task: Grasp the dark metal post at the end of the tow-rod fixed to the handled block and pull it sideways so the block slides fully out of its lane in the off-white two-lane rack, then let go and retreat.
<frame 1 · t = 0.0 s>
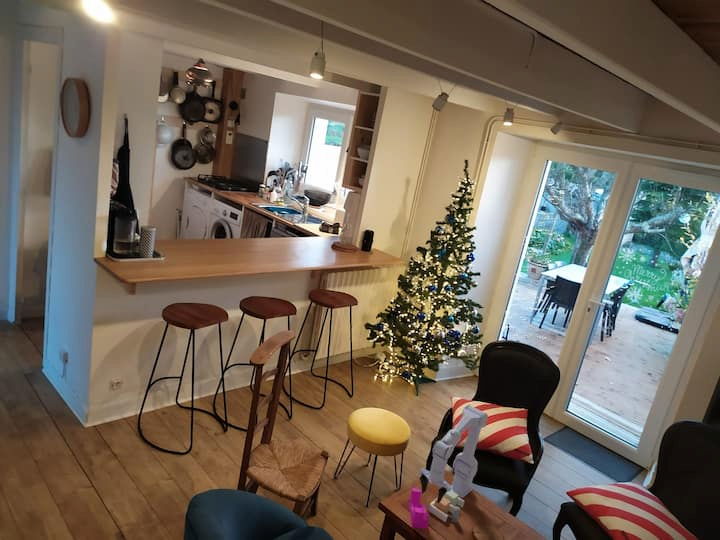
hand: (431, 496, 222), 10 cm above the table, fingers open, 7 cm apart
handled block: (440, 511, 229), on the table
green block: (448, 504, 235), resting in rack
rack: (445, 508, 232), on the table
toy block: (417, 515, 225), on the table
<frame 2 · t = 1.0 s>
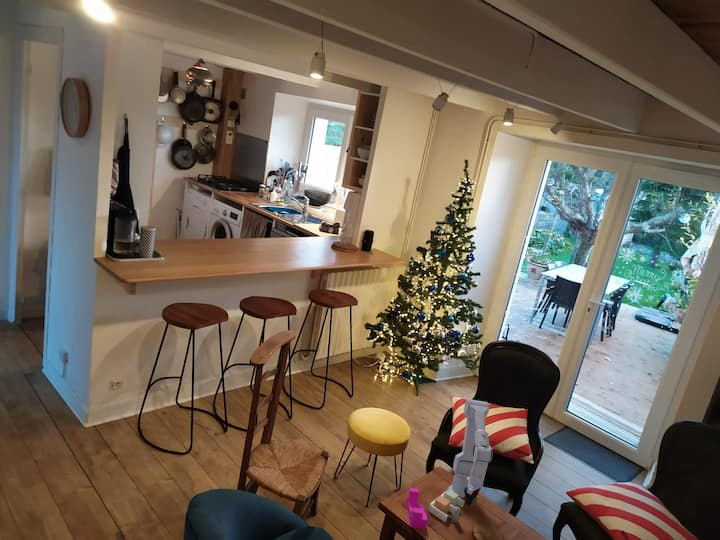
hand: (470, 500, 225), 9 cm above the table, fingers open, 7 cm apart
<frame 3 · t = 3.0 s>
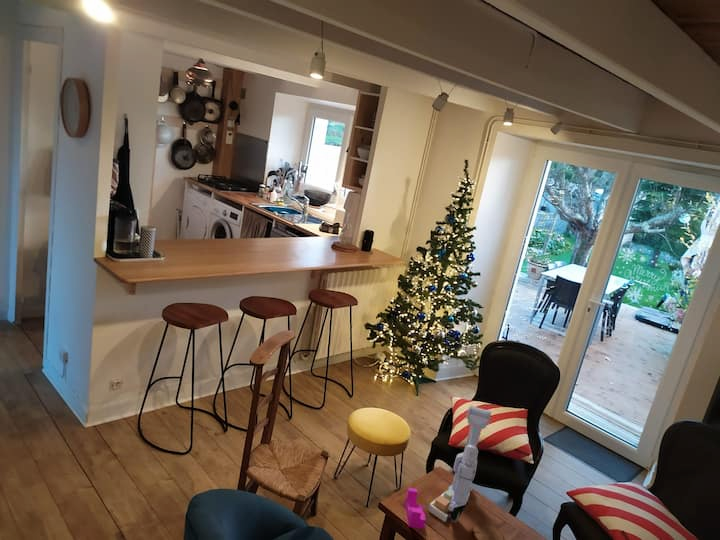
hand: (455, 517, 225), 2 cm above the table, fingers closed on handled block, 3 cm apart
handled block: (440, 511, 229), on the table, touching gripper
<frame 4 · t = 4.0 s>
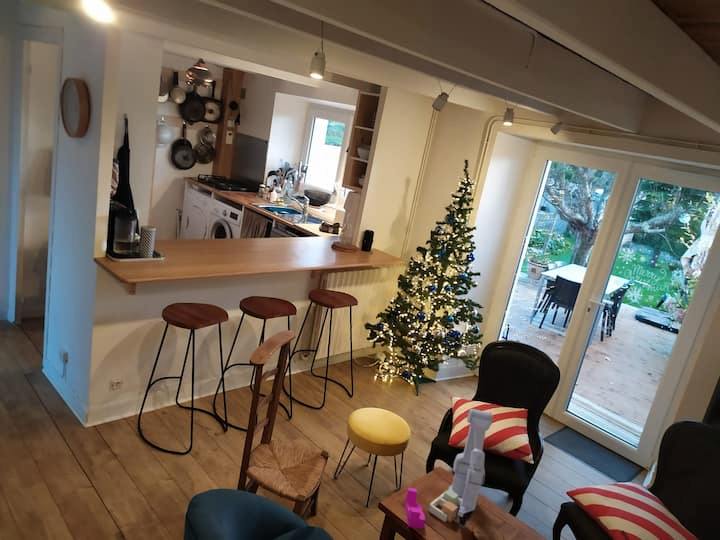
hand: (463, 522, 222), 2 cm above the table, fingers closed on handled block, 3 cm apart
handled block: (447, 516, 227), on the table, touching gripper
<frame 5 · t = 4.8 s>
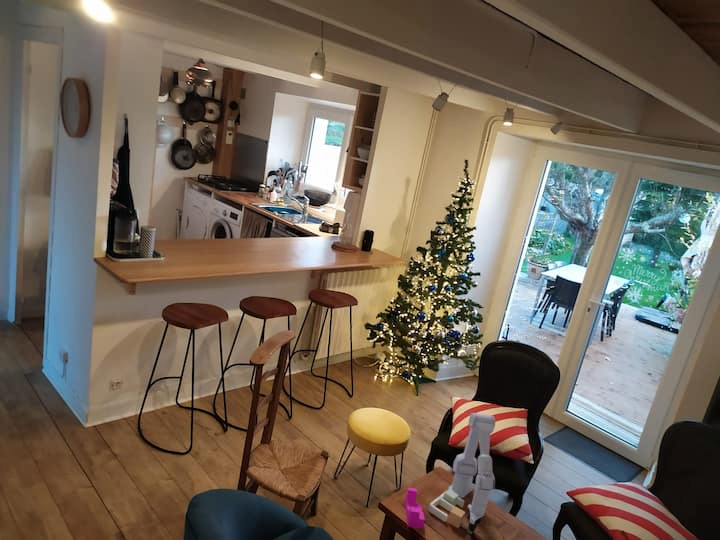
hand: (472, 528, 220), 2 cm above the table, fingers closed on handled block, 3 cm apart
handled block: (455, 522, 224), on the table, touching gripper
when the fingers open (2 cm above the table, at t = 5.0 s): handled block stays where it is, on the table.
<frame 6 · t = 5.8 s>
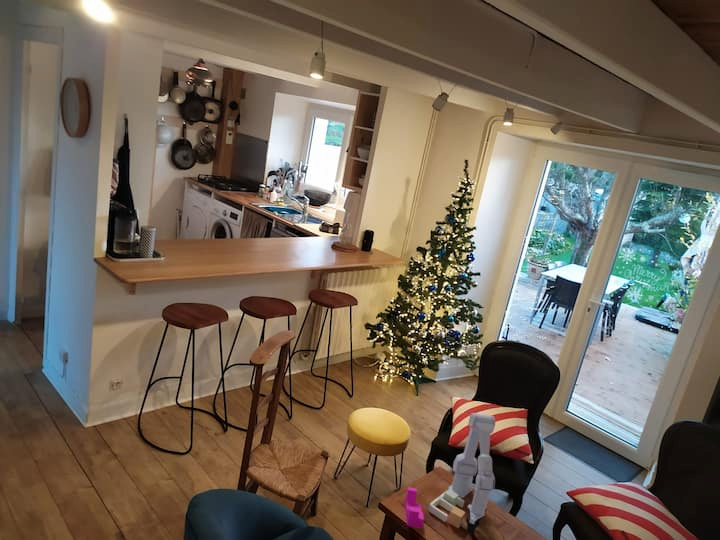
hand: (472, 528, 220), 2 cm above the table, fingers open, 7 cm apart
handled block: (455, 522, 224), on the table
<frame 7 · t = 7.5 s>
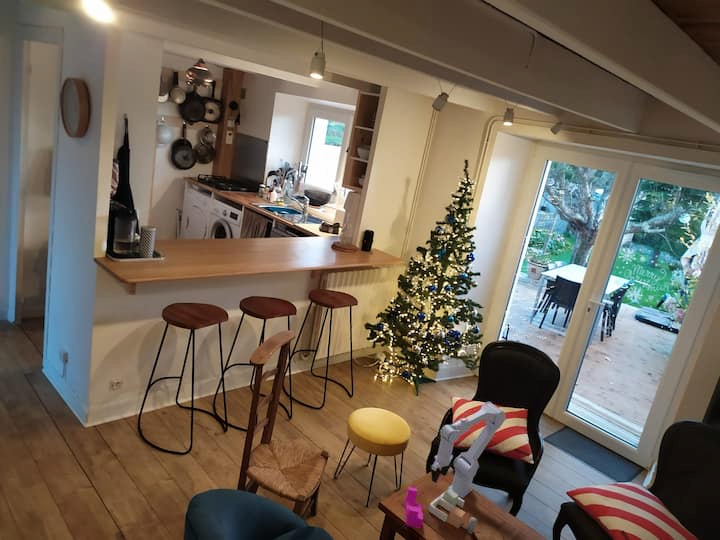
hand: (438, 478, 236), 10 cm above the table, fingers open, 7 cm apart
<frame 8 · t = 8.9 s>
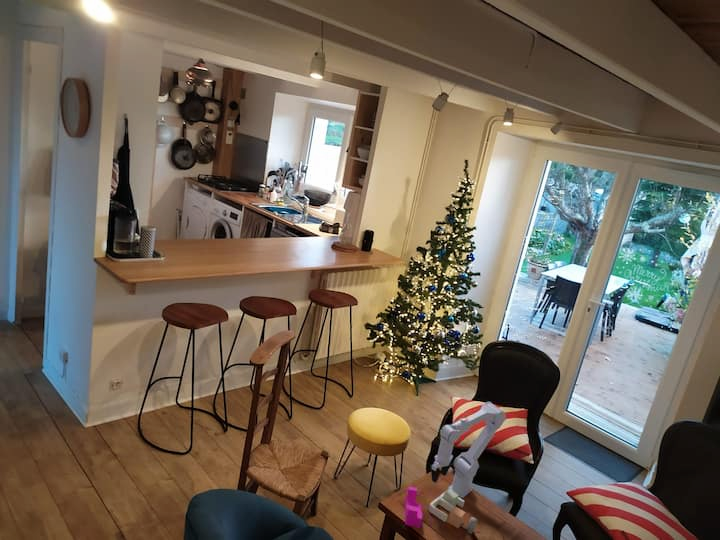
hand: (438, 478, 236), 10 cm above the table, fingers open, 7 cm apart
at the end: handled block inside the target area (3.6 cm from its centre), on the table; the gripper is holding nothing; handled block tilted 0° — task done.
